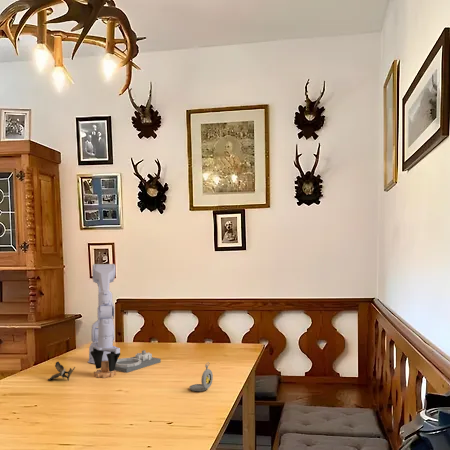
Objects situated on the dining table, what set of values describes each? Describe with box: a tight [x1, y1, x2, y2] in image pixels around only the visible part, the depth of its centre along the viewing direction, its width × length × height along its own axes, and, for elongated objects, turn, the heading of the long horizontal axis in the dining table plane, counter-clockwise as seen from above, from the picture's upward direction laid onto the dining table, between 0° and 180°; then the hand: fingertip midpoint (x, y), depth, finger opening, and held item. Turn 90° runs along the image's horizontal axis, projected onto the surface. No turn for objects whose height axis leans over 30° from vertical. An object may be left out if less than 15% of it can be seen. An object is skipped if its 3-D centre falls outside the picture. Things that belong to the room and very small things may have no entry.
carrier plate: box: [114, 349, 162, 374], centre depth 200 cm, size 13×21×5 cm, turn 147°
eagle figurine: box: [47, 361, 76, 382], centre depth 178 cm, size 8×7×9 cm
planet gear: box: [93, 360, 117, 379], centre depth 184 cm, size 8×8×6 cm
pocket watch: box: [189, 362, 214, 392], centre depth 165 cm, size 8×8×10 cm
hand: (105, 369), depth 184 cm, fingers open, 7 cm apart
